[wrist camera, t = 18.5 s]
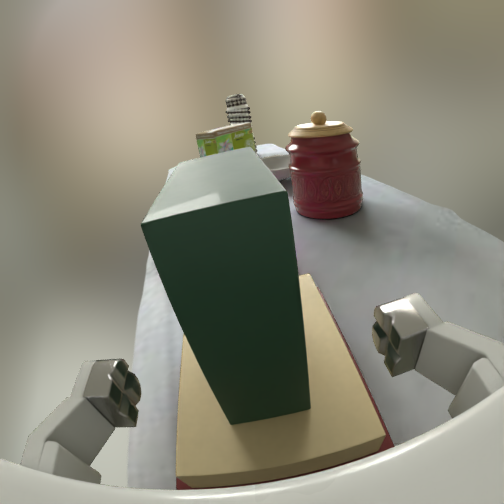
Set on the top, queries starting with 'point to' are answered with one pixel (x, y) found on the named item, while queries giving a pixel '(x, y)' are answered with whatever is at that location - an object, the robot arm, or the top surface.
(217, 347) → the book
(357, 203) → the kitchen canister
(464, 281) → the top surface
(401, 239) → the top surface
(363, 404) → the book stack
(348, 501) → the robot arm
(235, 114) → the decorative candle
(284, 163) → the dish
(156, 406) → the top surface
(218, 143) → the tea box
